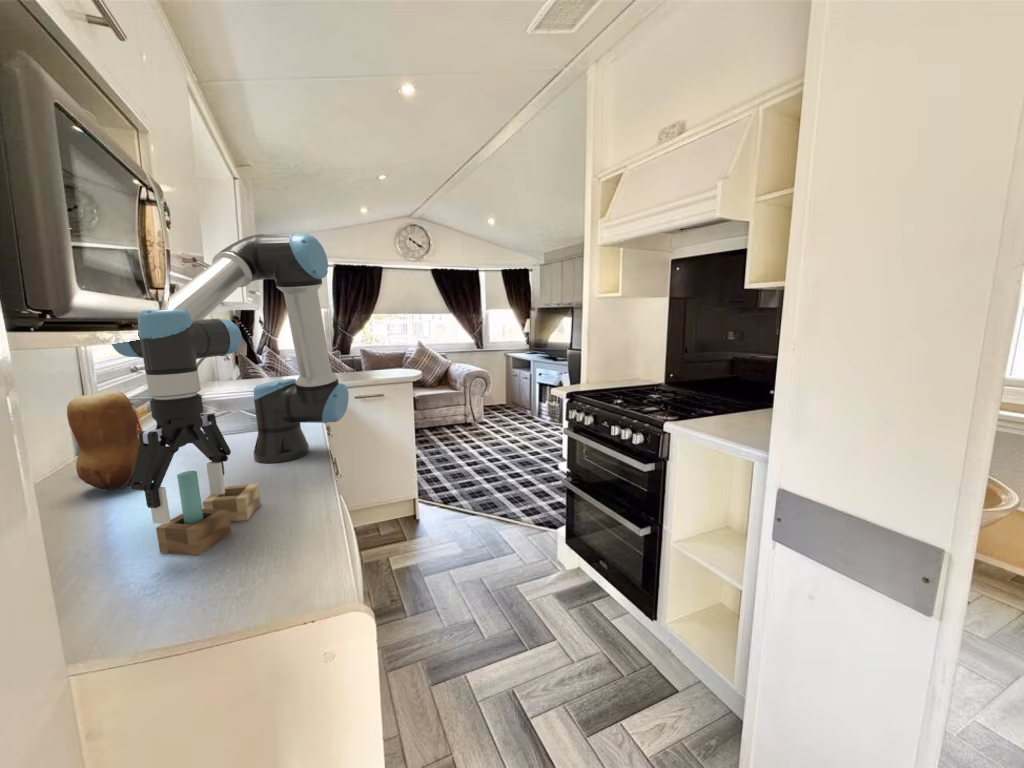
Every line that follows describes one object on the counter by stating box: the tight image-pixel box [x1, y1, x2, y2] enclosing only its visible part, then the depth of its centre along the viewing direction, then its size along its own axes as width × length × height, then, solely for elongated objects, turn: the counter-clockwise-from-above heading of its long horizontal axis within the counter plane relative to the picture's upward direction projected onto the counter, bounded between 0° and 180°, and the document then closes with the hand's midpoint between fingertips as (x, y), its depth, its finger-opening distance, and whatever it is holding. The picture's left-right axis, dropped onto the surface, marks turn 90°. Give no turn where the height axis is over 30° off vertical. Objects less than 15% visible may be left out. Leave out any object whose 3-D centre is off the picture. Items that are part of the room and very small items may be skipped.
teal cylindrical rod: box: [176, 470, 204, 525], centre depth 84 cm, size 3×3×14 cm
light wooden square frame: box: [202, 483, 261, 522], centre depth 96 cm, size 8×8×5 cm
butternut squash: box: [66, 390, 140, 492], centre depth 110 cm, size 14×13×25 cm
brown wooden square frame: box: [155, 508, 233, 556], centre depth 84 cm, size 8×8×5 cm
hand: (192, 507), depth 83 cm, fingers open, 12 cm apart
